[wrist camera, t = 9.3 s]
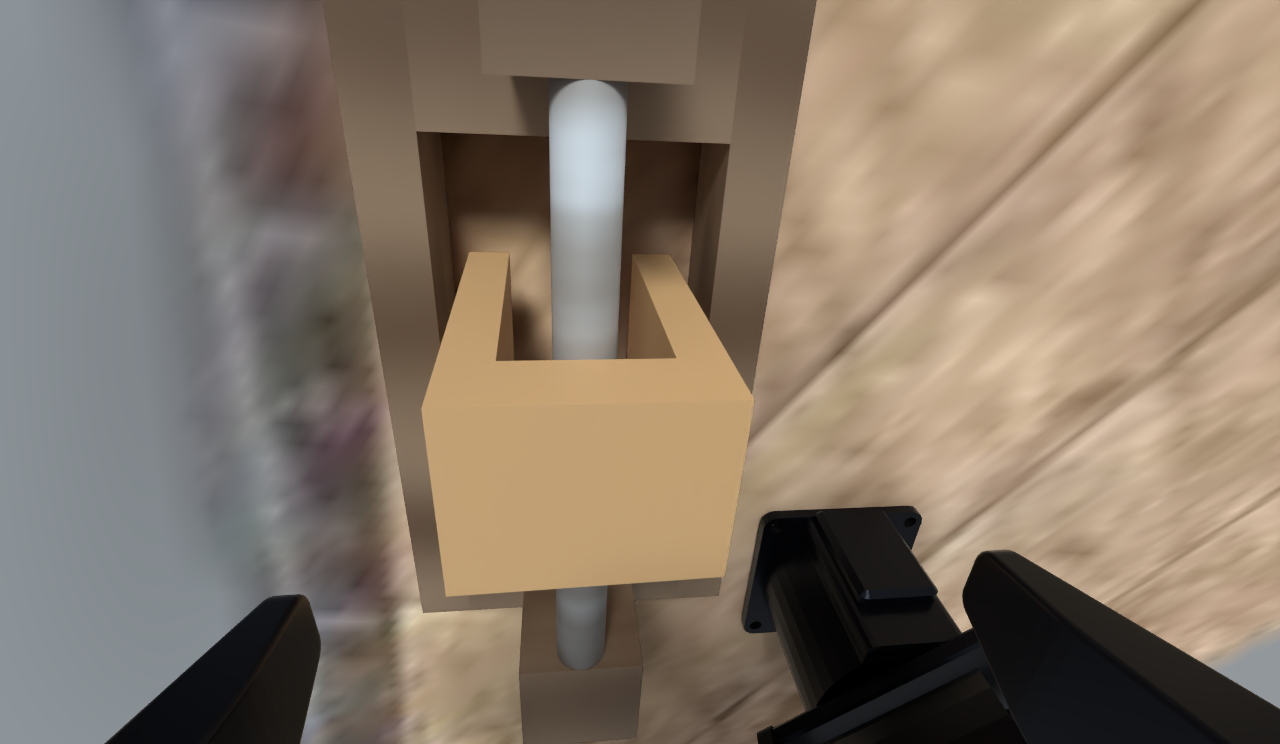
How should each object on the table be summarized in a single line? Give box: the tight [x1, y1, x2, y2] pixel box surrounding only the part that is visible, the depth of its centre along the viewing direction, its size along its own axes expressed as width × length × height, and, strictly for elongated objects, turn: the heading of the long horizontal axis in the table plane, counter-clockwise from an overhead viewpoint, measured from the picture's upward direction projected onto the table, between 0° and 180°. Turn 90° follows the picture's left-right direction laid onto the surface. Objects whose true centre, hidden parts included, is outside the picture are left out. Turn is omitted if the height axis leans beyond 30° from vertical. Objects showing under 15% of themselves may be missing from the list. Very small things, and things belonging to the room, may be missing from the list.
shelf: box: [322, 0, 817, 744], centre depth 15 cm, size 20×10×8 cm, turn 177°
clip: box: [421, 252, 755, 597], centre depth 14 cm, size 4×5×8 cm
